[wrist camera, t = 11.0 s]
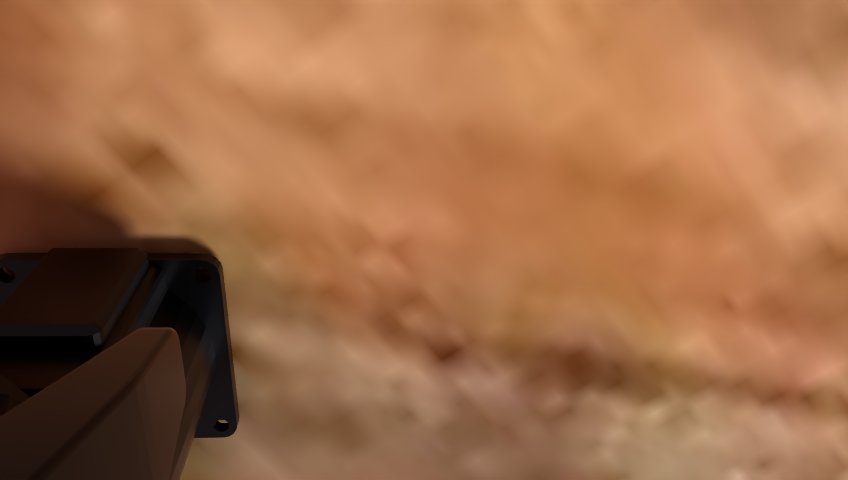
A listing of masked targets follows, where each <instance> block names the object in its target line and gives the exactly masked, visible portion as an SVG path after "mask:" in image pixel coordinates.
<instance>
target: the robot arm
mask: <svg viewBox="0 0 848 480" xmlns="http://www.w3.org/2000/svg"><path fill="white" fill-rule="evenodd" d="M3 267H5V268H9V269H10V270H12V271H13V273H14V274H15V276H10V275H8V274H7V273H5V272H4V270H3ZM201 267H202V268H206V269H207V270H209V271H210V273H211V275H210V276H202V275H201V274H199V273H198V271H197V268H201ZM218 419H223V420H226V421H227V422H228V423H220V422H219V421H217V420H218ZM238 422H239V411H238V402H237V393H236V384H235V375H234V366H233V357H232V348H231V339H230V329H229V320H228V311H227V302H226V293H225V284H224V275H223V268H222V265H221V263H220V261H219V260H218V259H217V258H216V257H214V256H212V255H210V254H204V253H145V252H144V251H142V250H140V249H138V248H53V249H51V250H50V251H49V252H48V253H6V254H1V255H0V480H179V479H180V476H181V473H182V470H183V467H184V465H185V462H186V459H187V456H188V453H189V450H190V447H191V444H192V441H193V438H214V437H228V436H230V435H232V434H234V432H235V431H236V429H237V425H238Z"/></svg>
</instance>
